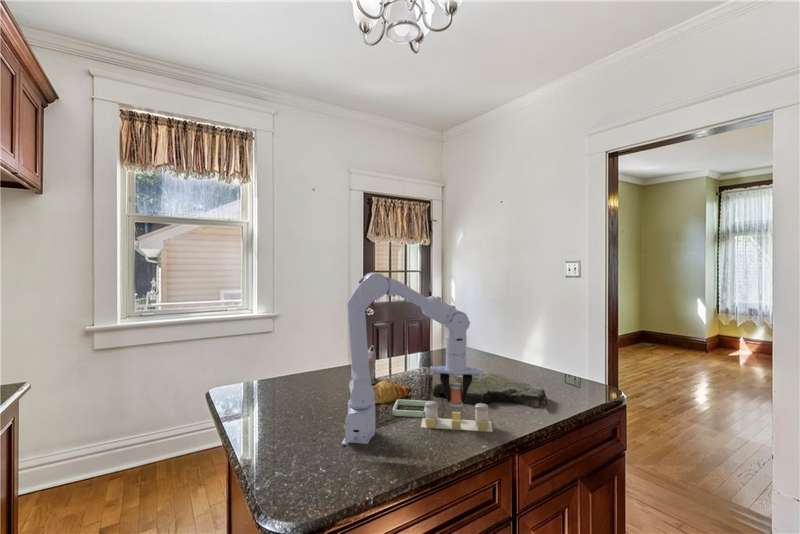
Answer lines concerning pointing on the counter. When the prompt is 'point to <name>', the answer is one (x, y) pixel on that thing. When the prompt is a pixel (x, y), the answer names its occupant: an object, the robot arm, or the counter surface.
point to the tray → (408, 412)
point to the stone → (497, 391)
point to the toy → (371, 363)
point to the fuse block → (457, 423)
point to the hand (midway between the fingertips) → (456, 400)
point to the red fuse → (456, 394)
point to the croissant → (389, 392)
